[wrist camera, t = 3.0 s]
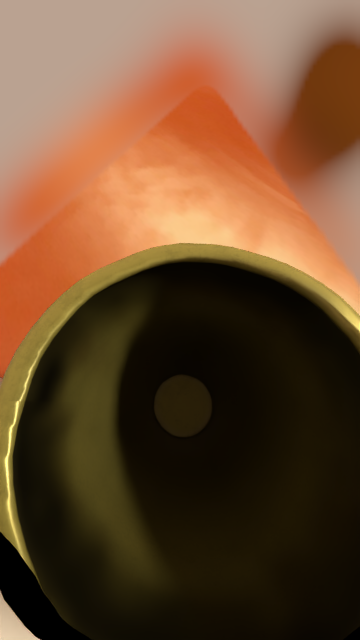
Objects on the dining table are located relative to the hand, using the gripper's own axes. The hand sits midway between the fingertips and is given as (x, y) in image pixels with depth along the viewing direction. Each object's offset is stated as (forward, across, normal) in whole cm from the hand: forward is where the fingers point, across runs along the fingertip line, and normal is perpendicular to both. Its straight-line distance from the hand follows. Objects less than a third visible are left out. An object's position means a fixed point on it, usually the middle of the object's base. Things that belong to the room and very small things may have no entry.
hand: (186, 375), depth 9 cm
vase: (+5, 0, +7) cm, 8 cm away
